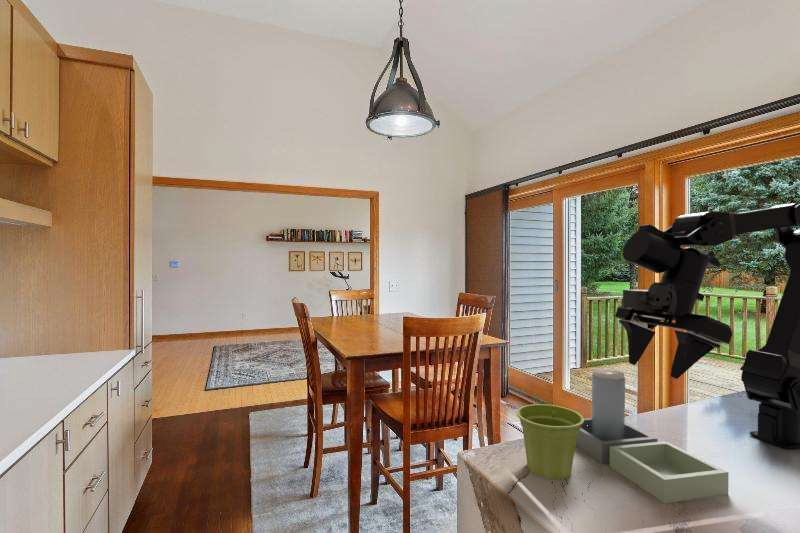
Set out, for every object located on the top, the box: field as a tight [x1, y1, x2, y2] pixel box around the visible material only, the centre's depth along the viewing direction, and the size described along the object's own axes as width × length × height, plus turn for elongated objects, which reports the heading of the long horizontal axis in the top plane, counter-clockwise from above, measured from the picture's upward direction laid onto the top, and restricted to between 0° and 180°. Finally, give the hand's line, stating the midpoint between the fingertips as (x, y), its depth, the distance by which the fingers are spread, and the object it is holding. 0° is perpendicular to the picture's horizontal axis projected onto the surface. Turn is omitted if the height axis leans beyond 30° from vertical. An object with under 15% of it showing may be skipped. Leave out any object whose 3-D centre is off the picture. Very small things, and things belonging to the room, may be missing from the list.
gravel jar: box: [591, 368, 626, 441], centre depth 71 cm, size 5×5×12 cm
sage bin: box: [609, 440, 730, 505], centre depth 60 cm, size 10×10×4 cm
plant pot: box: [516, 403, 584, 480], centre depth 63 cm, size 9×9×9 cm
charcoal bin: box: [575, 417, 659, 464], centre depth 71 cm, size 10×10×4 cm
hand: (651, 370), depth 71 cm, fingers open, 9 cm apart
